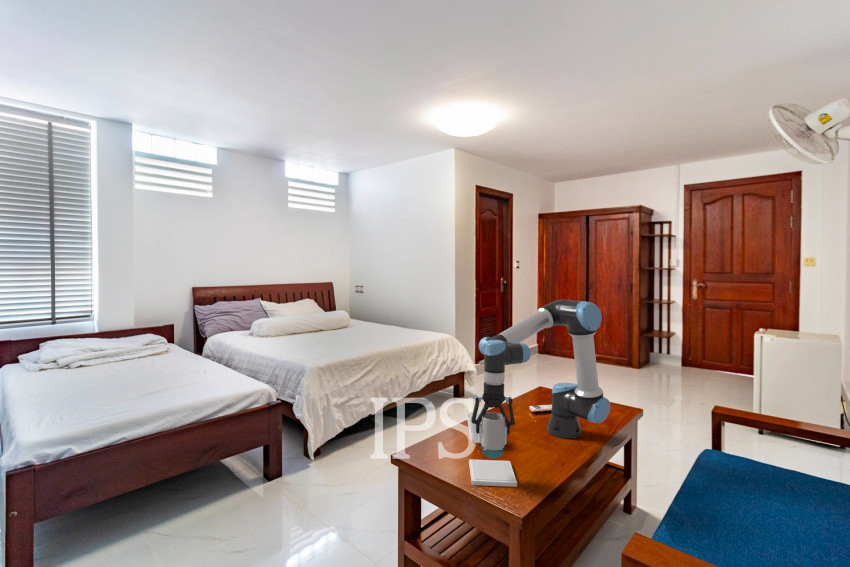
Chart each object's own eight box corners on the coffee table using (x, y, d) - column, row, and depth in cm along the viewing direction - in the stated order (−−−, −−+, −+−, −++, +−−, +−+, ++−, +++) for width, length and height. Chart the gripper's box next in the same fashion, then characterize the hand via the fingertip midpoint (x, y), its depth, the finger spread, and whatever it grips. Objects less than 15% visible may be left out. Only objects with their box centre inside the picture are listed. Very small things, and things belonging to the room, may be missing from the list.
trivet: (509, 464, 160) (509, 460, 160) (517, 486, 144) (517, 482, 144) (468, 463, 161) (469, 459, 161) (471, 484, 145) (471, 480, 145)
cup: (487, 446, 176) (488, 421, 175) (464, 444, 178) (465, 419, 177) (488, 437, 185) (489, 413, 185) (467, 435, 187) (467, 411, 187)
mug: (498, 452, 145) (499, 422, 144) (477, 446, 149) (477, 417, 149) (511, 440, 155) (512, 412, 154) (491, 435, 159) (491, 407, 159)
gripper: (521, 380, 154) (519, 439, 155) (464, 378, 155) (463, 436, 156) (525, 386, 147) (523, 447, 148) (465, 384, 148) (464, 445, 149)
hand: (492, 442), depth 152 cm, fingers closed on mug, 9 cm apart
